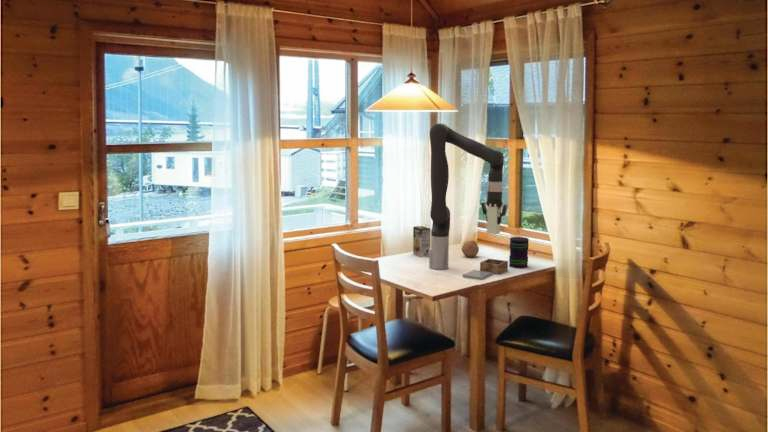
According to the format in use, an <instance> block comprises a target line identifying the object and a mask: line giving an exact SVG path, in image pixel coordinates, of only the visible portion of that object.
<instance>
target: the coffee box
mask: <svg viewBox="0 0 768 432" xmlns="http://www.w3.org/2000/svg"><path fill="white" fill-rule="evenodd" d="M412 229H413V231H412V232H413V233H412V235H413V236H412V237H413V239H412V240H413V243H412V247H413V248H412V249H413V250H412V251H413V252H412V253H413V255H415V256H417V257H420V258H423V256H425V257H429V250H430V249H431V228H430V227H426V226H423V225H421V226H413V227H412Z"/></svg>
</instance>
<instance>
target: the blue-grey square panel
mask: <svg viewBox="0 0 768 432" xmlns="http://www.w3.org/2000/svg"><path fill="white" fill-rule="evenodd" d="M492 275H493V274H492V272H485V271H480V270H476V269H473V270H470V271H468V272H466V273H464V274H462V277H463V278H466V279H472V280H479V281H480V280H485V279H486V278H488V277H491V276H492Z"/></svg>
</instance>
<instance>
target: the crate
mask: <svg viewBox="0 0 768 432" xmlns="http://www.w3.org/2000/svg"><path fill="white" fill-rule="evenodd" d="M508 261H509V260H501V259H494V258H487V259H486V260H482V261H481V262H479V271H485V272H492V275H493V274H494V275H501V274H504V273H505V272H507V271H509V270H508V267H509V262H508Z"/></svg>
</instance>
